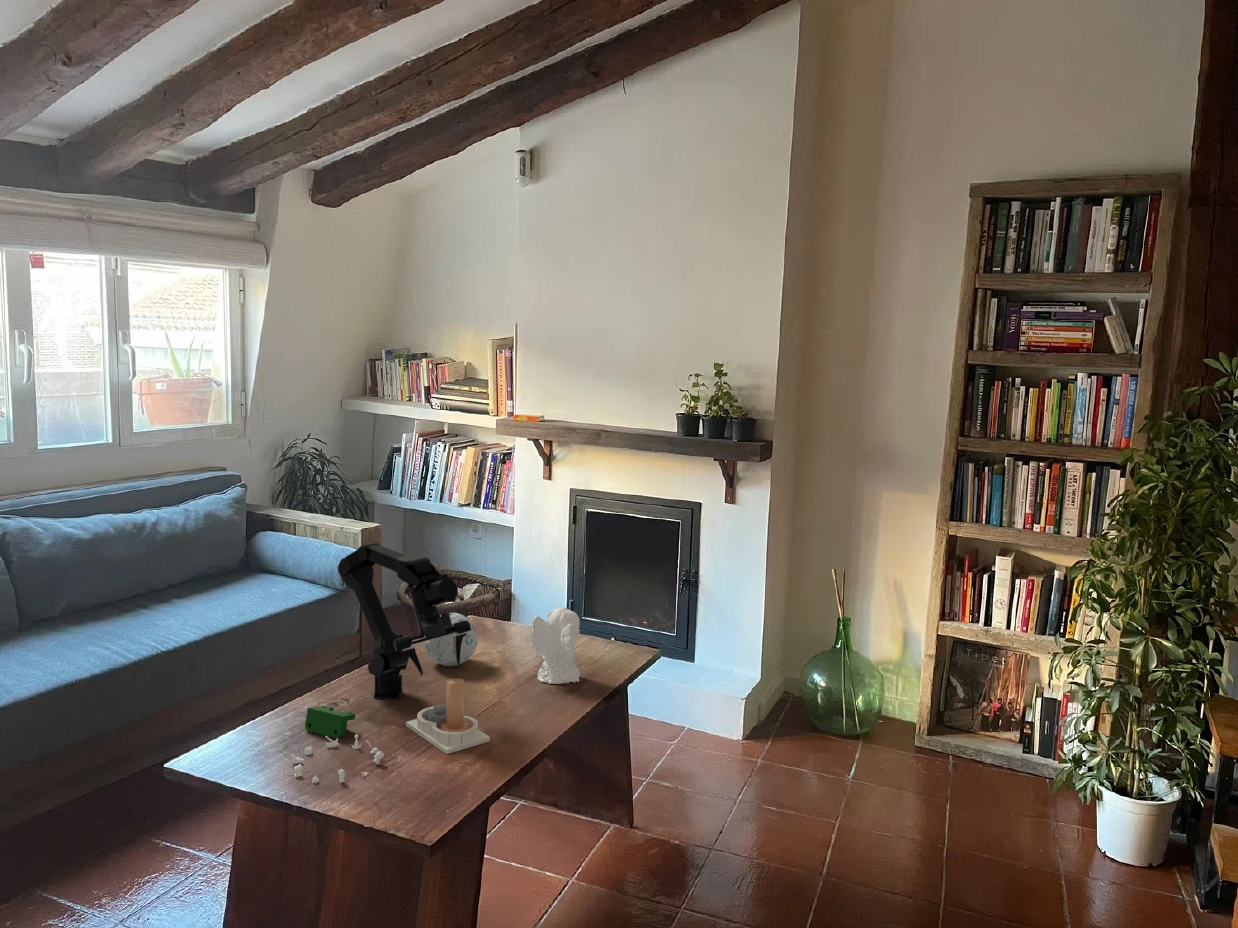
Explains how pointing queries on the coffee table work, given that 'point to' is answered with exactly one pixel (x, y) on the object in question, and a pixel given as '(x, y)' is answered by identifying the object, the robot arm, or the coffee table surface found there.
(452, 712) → the knob on notched ring
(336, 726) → the clamp
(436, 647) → the puzzle ball
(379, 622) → the robot arm
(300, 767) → the game piece set
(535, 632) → the cherub figurine
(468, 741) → the housing
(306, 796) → the coffee table surface
